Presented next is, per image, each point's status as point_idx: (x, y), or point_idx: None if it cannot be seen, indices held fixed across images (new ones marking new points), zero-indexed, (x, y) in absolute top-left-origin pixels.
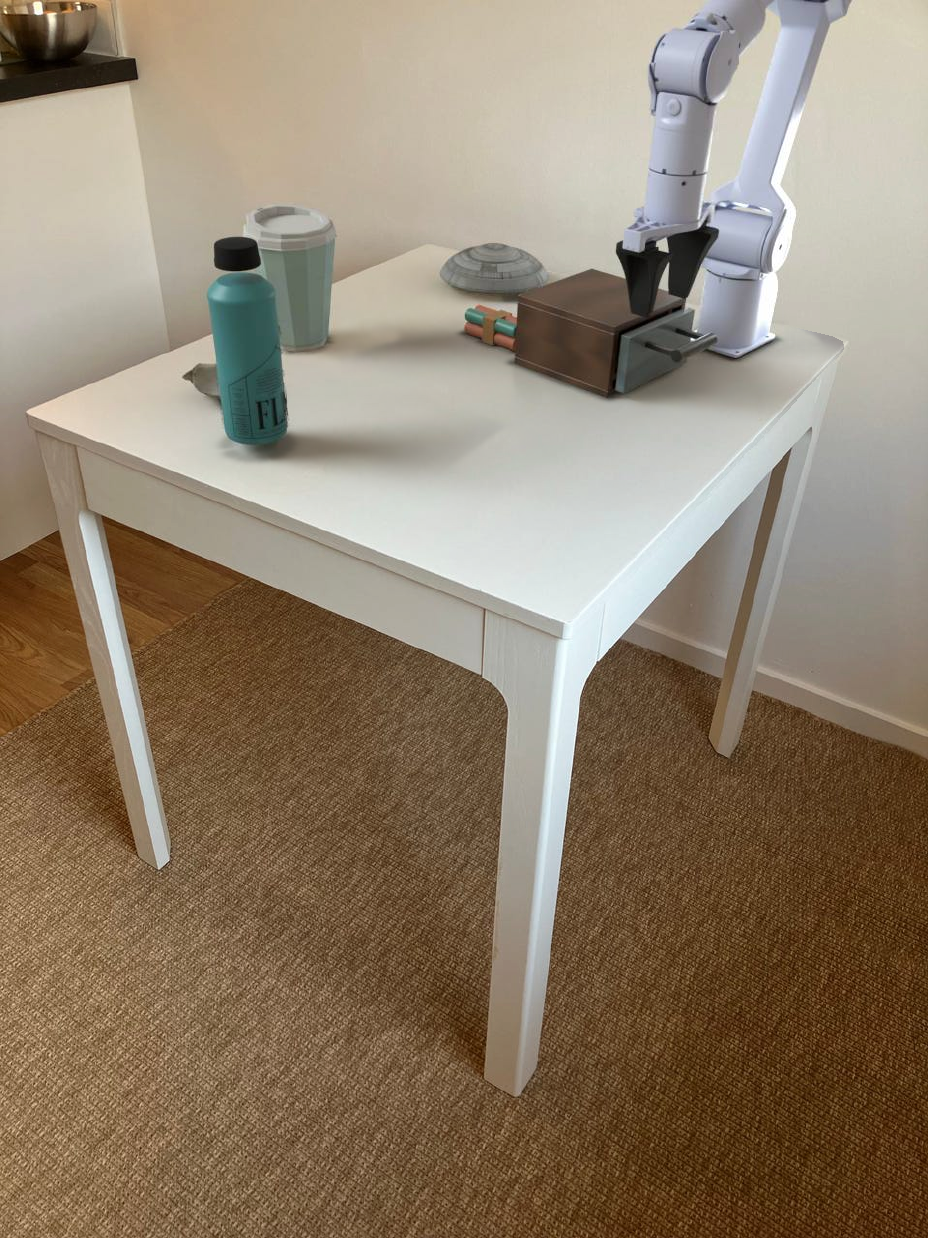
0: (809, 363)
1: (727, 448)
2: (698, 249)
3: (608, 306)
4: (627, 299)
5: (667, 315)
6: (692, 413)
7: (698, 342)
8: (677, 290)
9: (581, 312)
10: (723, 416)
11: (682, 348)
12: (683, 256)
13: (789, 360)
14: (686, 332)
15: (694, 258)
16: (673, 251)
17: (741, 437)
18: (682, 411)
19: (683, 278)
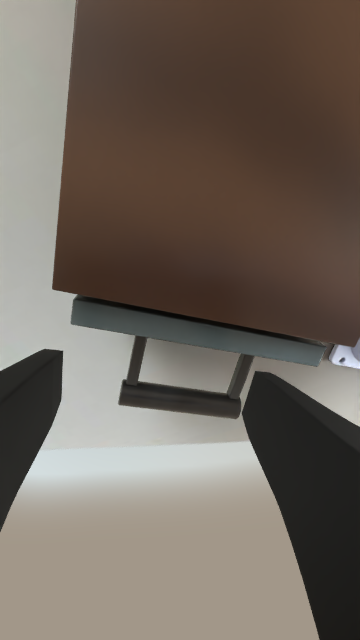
0: None
1: (58, 441)
2: (318, 591)
3: (193, 202)
4: (276, 229)
5: (256, 335)
6: (124, 378)
7: (182, 411)
8: (255, 402)
9: (91, 142)
10: (140, 409)
11: (133, 403)
12: (314, 498)
13: (347, 409)
14: (238, 366)
15: (298, 536)
16: (340, 470)
17: (97, 442)
18: (122, 366)
19: (269, 440)
